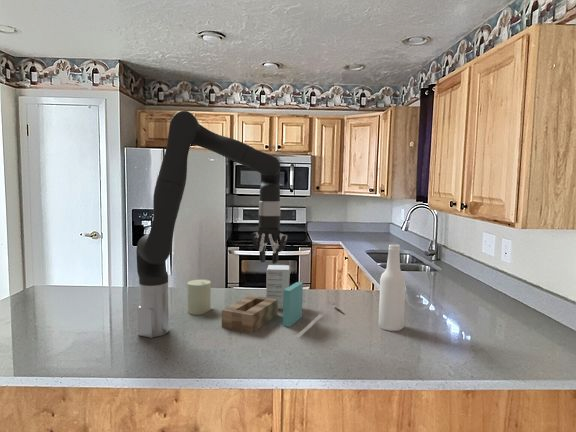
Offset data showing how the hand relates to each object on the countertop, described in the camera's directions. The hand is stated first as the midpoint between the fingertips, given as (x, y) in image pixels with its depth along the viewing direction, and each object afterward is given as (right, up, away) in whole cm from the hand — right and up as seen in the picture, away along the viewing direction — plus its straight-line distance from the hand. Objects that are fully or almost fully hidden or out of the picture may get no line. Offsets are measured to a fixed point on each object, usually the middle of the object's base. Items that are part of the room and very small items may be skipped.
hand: (268, 262), depth 140 cm
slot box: (-7, -23, +5) cm, 24 cm away
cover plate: (+8, -23, +5) cm, 25 cm away
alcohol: (+44, -24, +3) cm, 50 cm away
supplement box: (+3, -21, +24) cm, 32 cm away
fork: (+26, -22, +23) cm, 42 cm away
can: (-28, -21, +18) cm, 40 cm away
